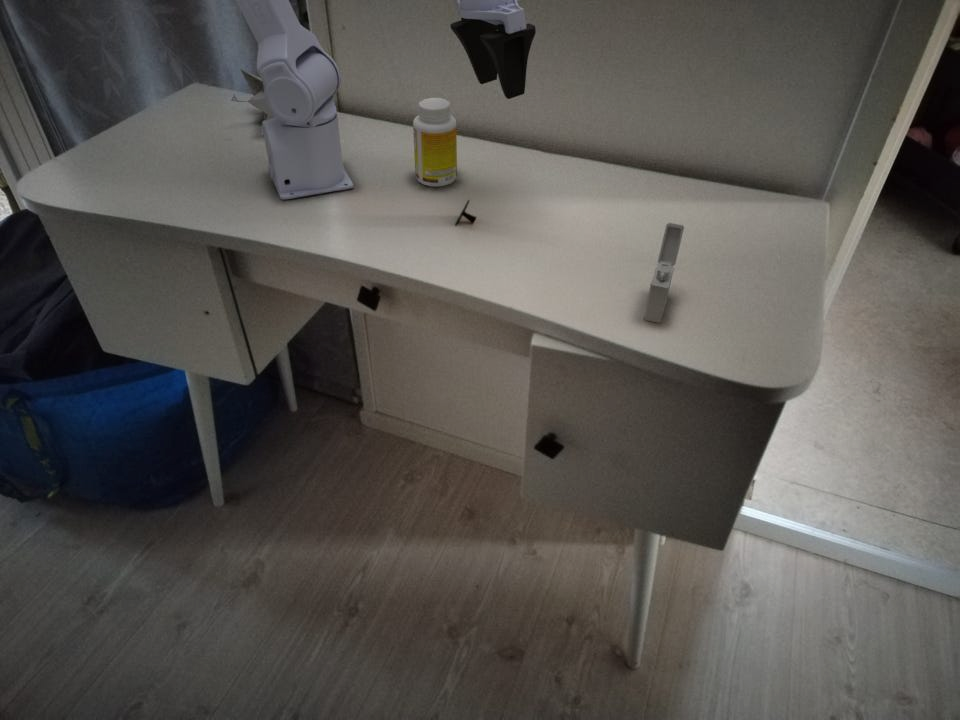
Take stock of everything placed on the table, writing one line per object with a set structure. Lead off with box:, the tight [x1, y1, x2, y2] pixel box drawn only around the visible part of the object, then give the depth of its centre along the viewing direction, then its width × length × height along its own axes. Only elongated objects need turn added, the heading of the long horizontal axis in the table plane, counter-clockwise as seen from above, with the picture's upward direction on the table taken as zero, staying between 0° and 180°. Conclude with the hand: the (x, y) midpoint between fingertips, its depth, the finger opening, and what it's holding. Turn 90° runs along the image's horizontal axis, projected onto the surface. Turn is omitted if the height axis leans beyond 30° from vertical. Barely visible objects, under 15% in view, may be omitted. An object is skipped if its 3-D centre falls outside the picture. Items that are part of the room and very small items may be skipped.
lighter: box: [643, 222, 685, 324], centre depth 71 cm, size 7×2×8 cm, turn 160°
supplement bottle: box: [412, 97, 458, 188], centre depth 92 cm, size 6×6×10 cm
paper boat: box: [230, 69, 276, 137], centre depth 107 cm, size 12×6×9 cm
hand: (501, 88), depth 81 cm, fingers open, 7 cm apart
